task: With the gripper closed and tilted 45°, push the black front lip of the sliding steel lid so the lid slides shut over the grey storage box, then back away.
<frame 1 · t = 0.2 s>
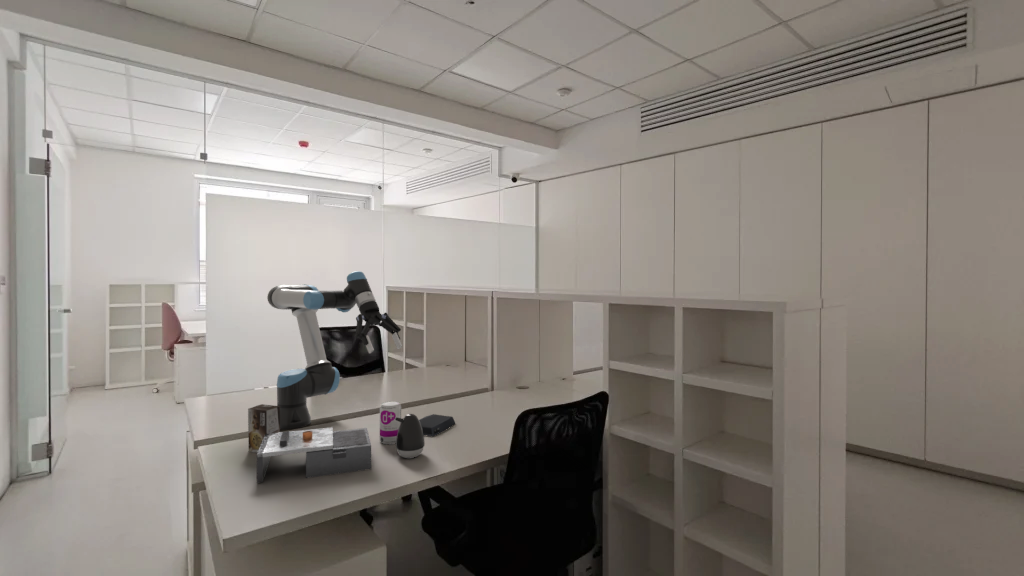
hand: (386, 349, 184), 36 cm above the table, tool tilted 35°, fingers open, 13 cm apart
external hard drive: (432, 429, 200), on the table
grey storage box: (338, 462, 161), on the table
lid: (297, 449, 157), point 6 cm above the table, slide at 12.0 cm
pump dispenser: (409, 456, 168), on the table
coffee box: (264, 450, 172), on the table
supplement can: (390, 442, 183), on the table
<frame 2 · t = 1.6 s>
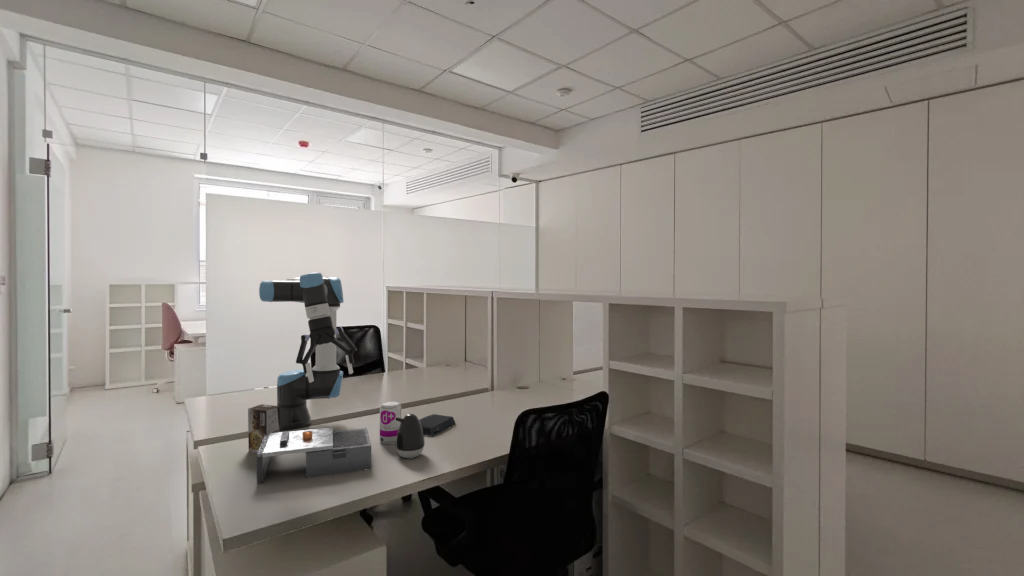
hand: (331, 377, 161), 30 cm above the table, tool pointing down, fingers open, 13 cm apart
nothing on the table moved.
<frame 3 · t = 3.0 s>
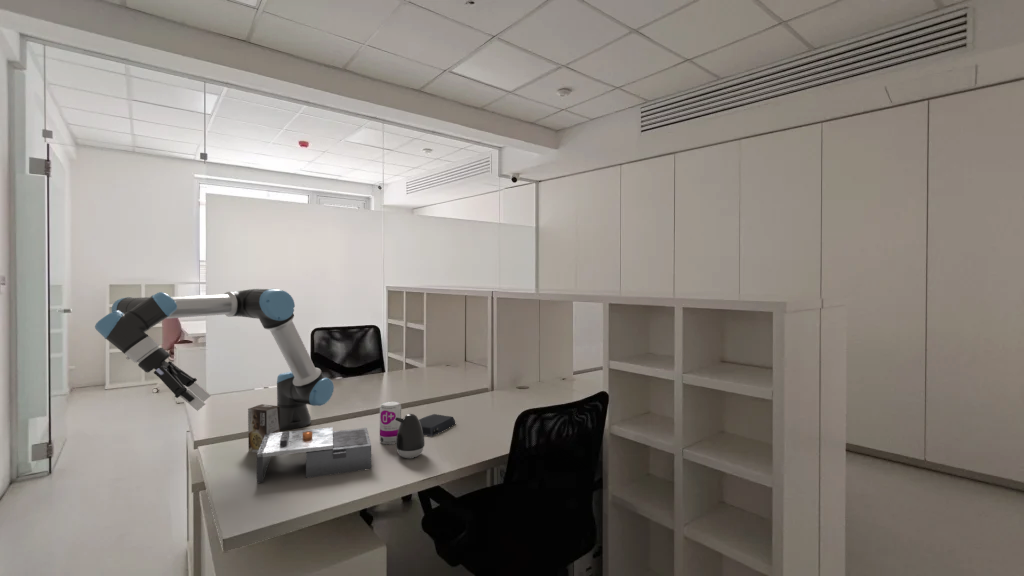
hand: (204, 403, 145), 24 cm above the table, tool tilted 40°, fingers open, 13 cm apart
nothing on the table moved.
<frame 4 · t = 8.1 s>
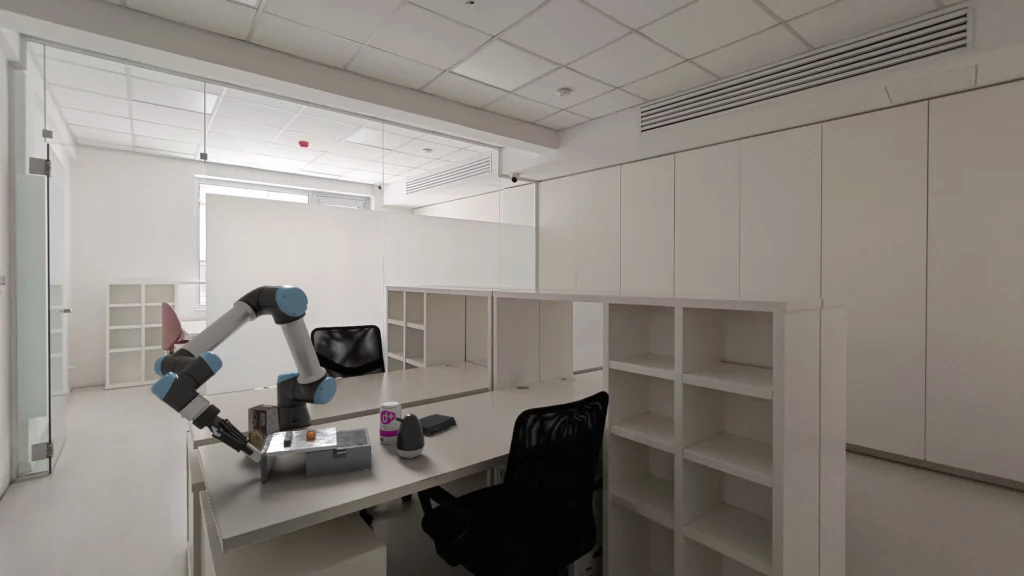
hand: (260, 458, 152), 5 cm above the table, tool tilted 45°, fingers closed
lid: (301, 449, 157), point 6 cm above the table, slide at 10.9 cm, touching gripper
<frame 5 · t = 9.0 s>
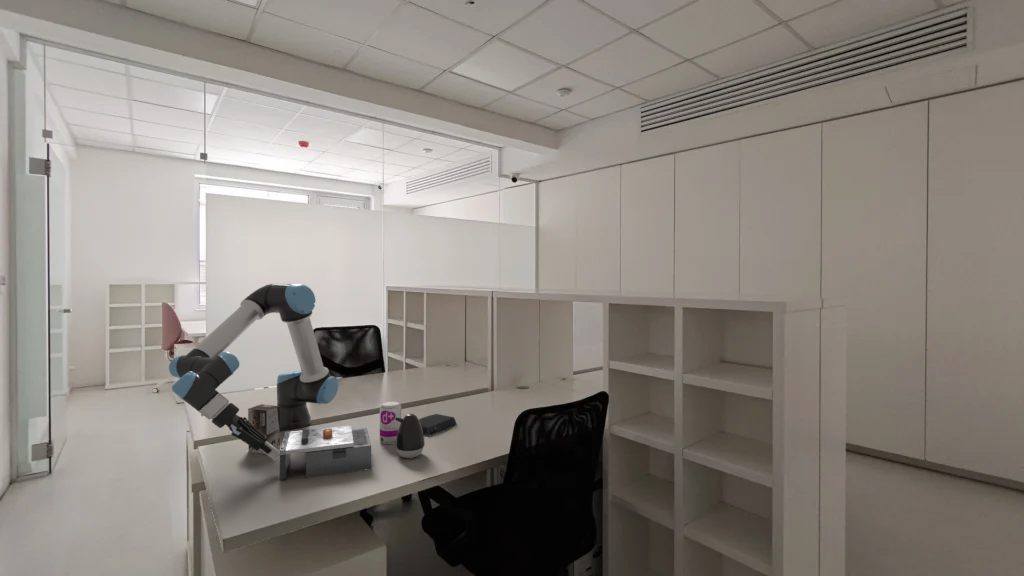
hand: (278, 456, 154), 5 cm above the table, tool tilted 45°, fingers closed
lid: (318, 447, 159), point 6 cm above the table, slide at 5.6 cm, touching gripper
everything else where it was.
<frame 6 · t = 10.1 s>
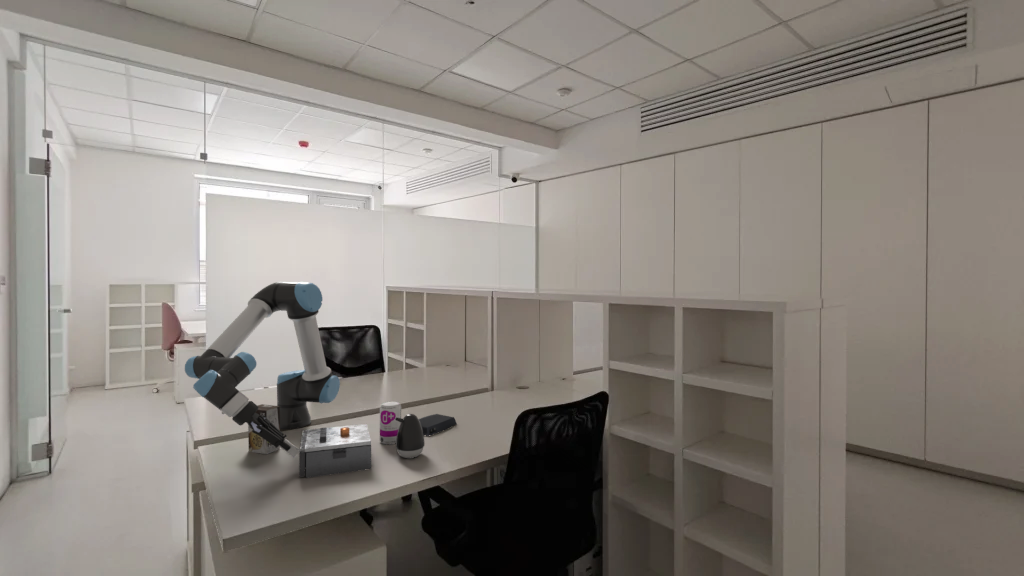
hand: (297, 454, 156), 5 cm above the table, tool tilted 45°, fingers closed
lid: (335, 445, 161), point 6 cm above the table, slide at 0.0 cm, touching gripper
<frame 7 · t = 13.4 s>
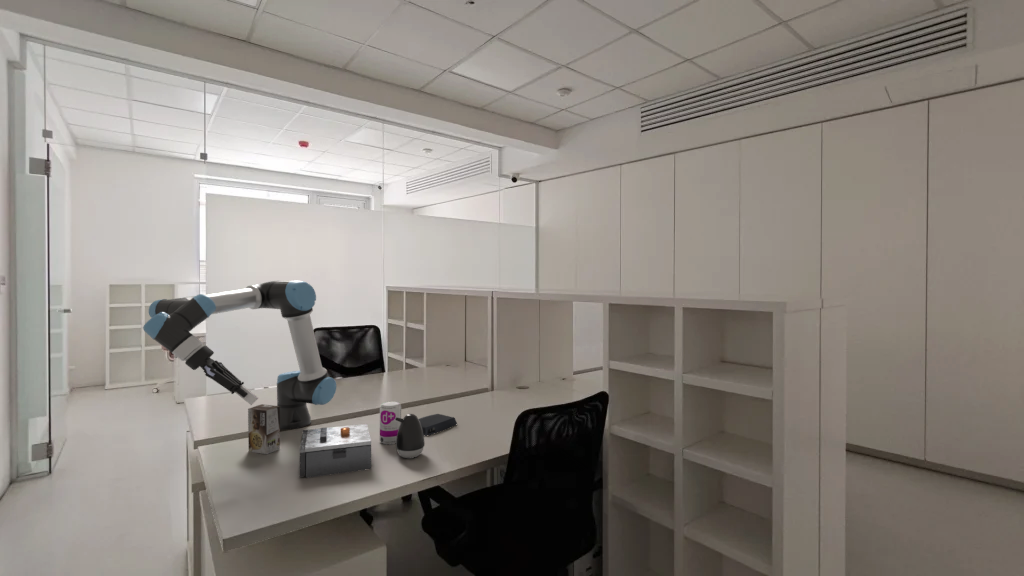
hand: (254, 401, 152), 23 cm above the table, tool tilted 45°, fingers closed
lid: (336, 445, 161), point 6 cm above the table, slide at 0.0 cm
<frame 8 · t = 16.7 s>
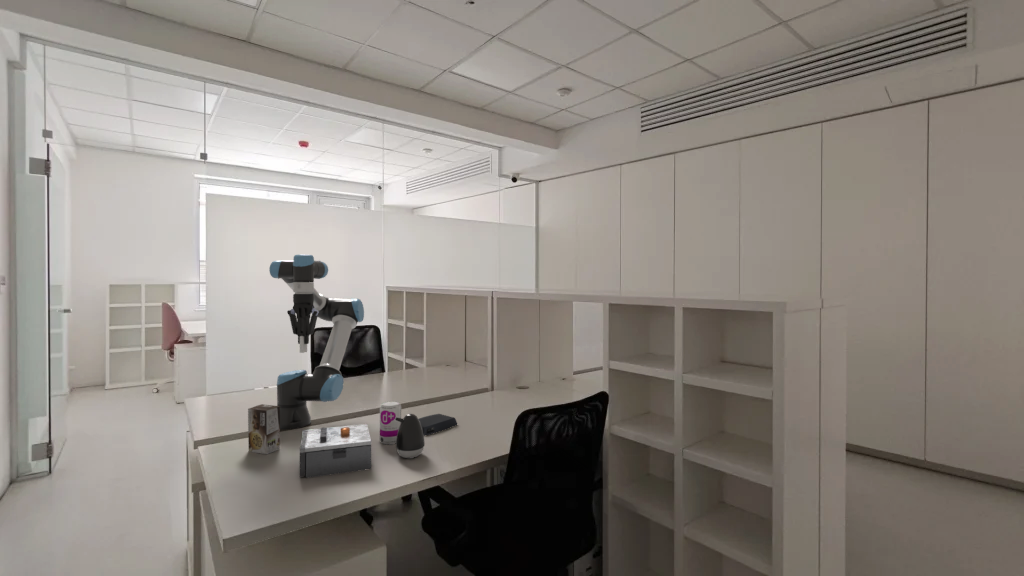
hand: (303, 352, 186), 34 cm above the table, tool pointing down, fingers closed
at the end: lid slide at 0.0 cm; supplement can moved 0.2 cm from its start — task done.
